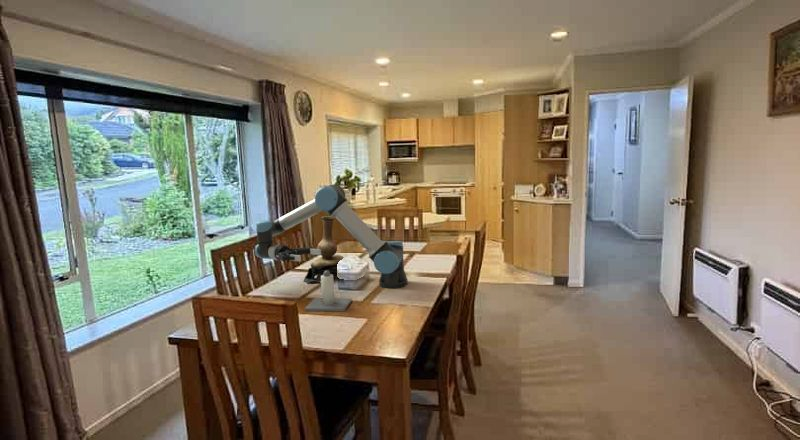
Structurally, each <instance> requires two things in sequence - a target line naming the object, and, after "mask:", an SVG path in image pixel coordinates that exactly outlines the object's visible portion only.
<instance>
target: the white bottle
mask: <svg viewBox="0 0 800 440" xmlns="http://www.w3.org/2000/svg"><path fill="white" fill-rule="evenodd" d="M320 282H321V283H320V285H321V298H322V303H323V305H332V304H334V303H335V298H336V297H335V286H334V285H335V283H334V282H335V281H334V277H333V275H332V274H330V272H329V271H325V272H324V273H323V275H321V277H320Z"/></svg>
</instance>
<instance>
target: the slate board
mask: <svg viewBox="0 0 800 440" xmlns="http://www.w3.org/2000/svg"><path fill="white" fill-rule="evenodd" d="M352 299H353V298H352V297H351V298H349V297H345V298H344V297H343V298H342V297H335V303H334V304H332V305H323V303H322V297H314V299H313V300H312V301H310V303H308V304H307V305H306V306H305V307H304V311H305V312H345V311H346V309H347V308H348V307H349V305H350V304H351V302H352Z"/></svg>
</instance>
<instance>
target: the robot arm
mask: <svg viewBox="0 0 800 440" xmlns="http://www.w3.org/2000/svg"><path fill="white" fill-rule="evenodd" d="M321 212H326V214H327V215H328V216H330V217H334V218H336V220H337V221H339V223H340V224H341V225H342V226H343V227H344V228H345V229H346V230H347V231H348V233H350V234H351V235H352V236H353V238H354V239H355V240H356V241H357V242H358V243H359V244H360V245H361V246H362V248H364V249H365V250H366V252H367V253H368V258H369V259H370V260H371V261H372V262H373V266H374V268H375V269H376V270H377V272H379V273H380V276H379V280H378V282H379V286H380V287H382V288H386V289H398V288H402V287H406V286H408V283H409V281H408V277H407V273H406V271H405V264H404V263H405V262H404V243H403V242H402V241H400V240H399V241H397V240H395V241H393V240H392V241H387V240H381V239H380V237H379V236H378V235H377V234H376V233H375V232H374V231H373V230H372V229H371V228H370V226H369V225H367V223H365V222H364V221H363V220H362V218H361V217H360V216H359V215H358V214H357V213H356V212H355V211H354V210H353V208H351V206H350V205H349V200H348V199H347V198H346V192H345V190H344V188H343V187H342V186H341V185H338V184H330V185H323V186H322V187H320V188H319V189H317V191H316V192H315V194H314V198H313V199H311V200H310V201H308V202H306V203H304V204H303V205H301V206H299V207H297V208H295V209H293V210H291V211H290V212H288V213H286V214H284V215H282V216H280V217H278V218H277V219H274V221H271V220H259V221H257V222H256V224H255V225H256V235H257V245H255V246H254V251H253V252H254V255H255V256H256V257H257V258H260V259H268V260H275V261H276V262H277V261H282V262H286V263H290V261H292V262H293V261H294V262H302V257H301V256H302V255H315V256H316V255H317V256H321V249H317V248H315V247H313V246H310V247H295V248H290V247H289V246H288V245H284V244H274V237H275V236H278V235H281V234H283V233H284V232H285V231H287V230H289V229H291V228H293V227H295V226H296V225H298V224H301V223H302V222H305V221H306V220H308V219H310V218H311V217H314V216H315V215H317V214H319V213H321ZM405 285H406V286H405Z"/></svg>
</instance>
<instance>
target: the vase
mask: <svg viewBox="0 0 800 440" xmlns="http://www.w3.org/2000/svg"><path fill="white" fill-rule="evenodd" d="M321 219H322V230H323V231H322V232H323V234H322V239H321V240H320V242H319V243H318V245H317V247H316V249H321V255H320V257H318V258H317V259H315V260H313V261H311V263H310V268H308V269H307V273H306V275H305V277H304V279H303V281H302V283H306V284H307V285H309V284H310V283H312V282H317V283H318V284H321V280H318V279H321V275H323V273H324V272H325V271H329V272H330V274H332V275H333V278H335V277H336V278H337V264H338V262H339V261H340V260H342V259H343V258H344V259H345V257H344V256H343V255H341V254H336V253H337V251H338V245H337V243H336V242H335V241H334V240H333V224H334V221H335V220H334V219H335V217H331V216H330V215H328V216H325V215H324V216H321Z"/></svg>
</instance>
